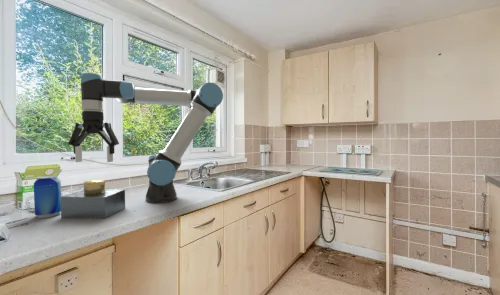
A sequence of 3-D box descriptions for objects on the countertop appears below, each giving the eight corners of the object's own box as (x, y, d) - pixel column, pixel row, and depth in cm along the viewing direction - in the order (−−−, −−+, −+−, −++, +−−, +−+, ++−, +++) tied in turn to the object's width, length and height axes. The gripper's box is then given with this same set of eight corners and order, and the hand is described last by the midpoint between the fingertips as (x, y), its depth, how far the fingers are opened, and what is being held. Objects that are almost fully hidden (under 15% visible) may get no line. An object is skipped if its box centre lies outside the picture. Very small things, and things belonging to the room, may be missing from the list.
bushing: (109, 208, 105) (109, 179, 104) (97, 214, 97) (97, 183, 97) (93, 208, 105) (92, 179, 104) (80, 214, 97) (79, 182, 97)
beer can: (31, 219, 92) (29, 179, 92) (39, 213, 100) (38, 175, 99) (57, 217, 96) (56, 177, 95) (64, 211, 103) (63, 174, 103)
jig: (125, 208, 108) (124, 189, 107) (105, 218, 94) (104, 197, 93) (86, 207, 108) (86, 189, 108) (61, 217, 94) (60, 196, 94)
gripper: (126, 112, 102) (128, 160, 103) (71, 112, 104) (73, 160, 104) (116, 110, 95) (117, 162, 96) (56, 110, 96) (58, 162, 97)
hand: (94, 161), depth 100 cm, fingers open, 13 cm apart
